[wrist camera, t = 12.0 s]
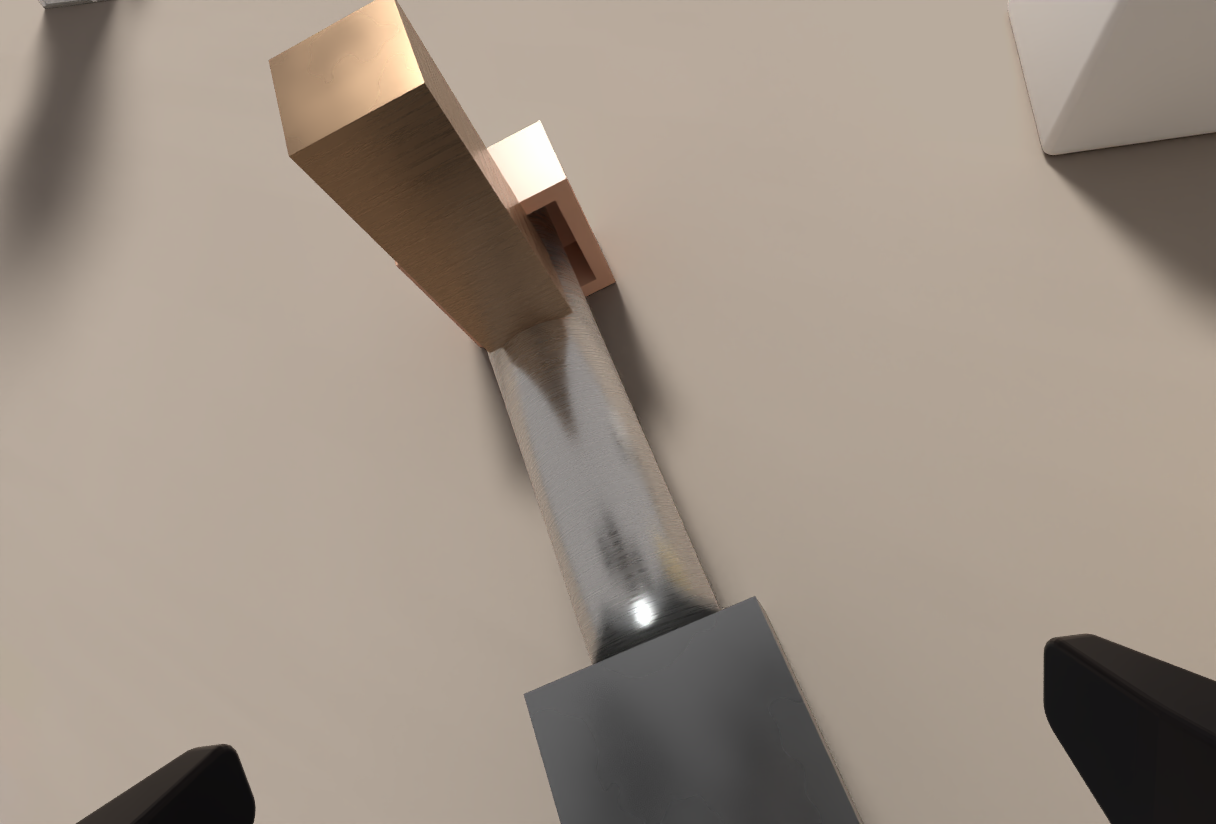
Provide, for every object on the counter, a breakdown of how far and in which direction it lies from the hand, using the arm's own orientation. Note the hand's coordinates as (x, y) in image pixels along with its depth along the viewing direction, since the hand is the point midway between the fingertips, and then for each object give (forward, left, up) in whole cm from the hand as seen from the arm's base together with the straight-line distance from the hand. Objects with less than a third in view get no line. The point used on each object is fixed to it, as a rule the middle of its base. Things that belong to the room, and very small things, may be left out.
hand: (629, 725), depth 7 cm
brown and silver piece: (+4, +5, -12) cm, 14 cm away
